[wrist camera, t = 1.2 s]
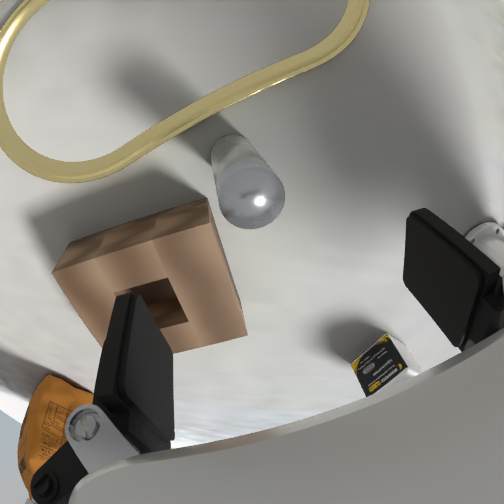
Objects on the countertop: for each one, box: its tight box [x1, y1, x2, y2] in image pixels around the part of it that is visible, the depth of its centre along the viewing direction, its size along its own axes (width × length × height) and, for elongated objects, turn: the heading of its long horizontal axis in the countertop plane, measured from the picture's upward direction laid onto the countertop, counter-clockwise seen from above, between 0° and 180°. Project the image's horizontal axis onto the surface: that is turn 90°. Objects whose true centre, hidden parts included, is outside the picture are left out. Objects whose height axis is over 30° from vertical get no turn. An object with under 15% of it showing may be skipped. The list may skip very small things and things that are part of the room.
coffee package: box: [18, 375, 93, 500], centre depth 29 cm, size 10×12×22 cm
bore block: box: [52, 198, 247, 354], centre depth 28 cm, size 14×12×5 cm
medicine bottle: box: [351, 333, 423, 397], centre depth 38 cm, size 7×7×12 cm
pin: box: [211, 135, 285, 229], centre depth 21 cm, size 4×4×10 cm
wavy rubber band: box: [0, 0, 370, 183], centre depth 18 cm, size 19×35×2 cm, turn 116°
